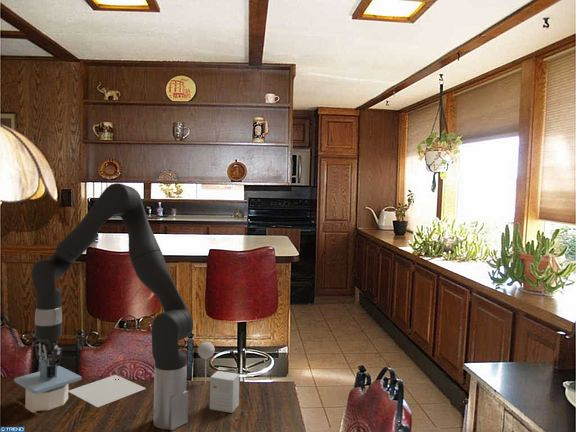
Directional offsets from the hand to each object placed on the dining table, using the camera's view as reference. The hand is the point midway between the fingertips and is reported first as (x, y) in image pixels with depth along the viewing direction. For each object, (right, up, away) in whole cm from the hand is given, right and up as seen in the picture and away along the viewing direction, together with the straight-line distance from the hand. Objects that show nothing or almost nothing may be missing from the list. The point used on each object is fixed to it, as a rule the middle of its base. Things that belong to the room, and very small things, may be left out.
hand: (47, 375), depth 141 cm
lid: (0, -2, 0) cm, 2 cm away
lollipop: (+46, -10, +20) cm, 51 cm away
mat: (+14, -9, +11) cm, 20 cm away
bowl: (0, -9, 0) cm, 9 cm away
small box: (+55, -11, +2) cm, 56 cm away
